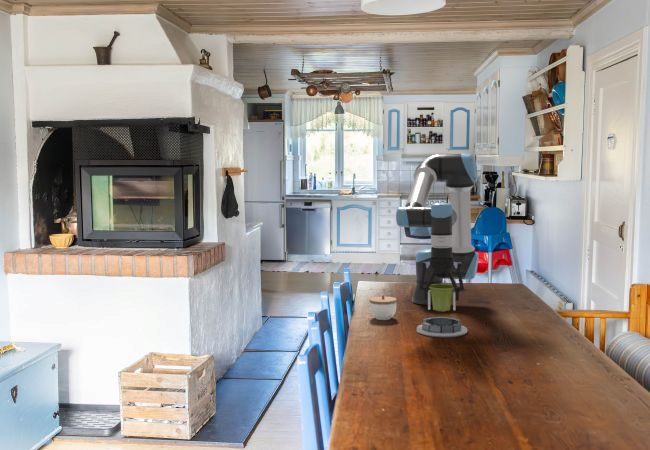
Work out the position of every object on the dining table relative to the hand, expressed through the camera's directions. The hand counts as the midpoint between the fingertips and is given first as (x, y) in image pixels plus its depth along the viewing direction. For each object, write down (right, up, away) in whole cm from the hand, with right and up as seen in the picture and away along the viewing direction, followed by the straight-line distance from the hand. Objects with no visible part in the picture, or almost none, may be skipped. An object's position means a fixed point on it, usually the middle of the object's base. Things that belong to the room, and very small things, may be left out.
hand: (441, 309), depth 242 cm
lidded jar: (-19, -7, +23) cm, 30 cm away
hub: (0, -8, +1) cm, 8 cm away
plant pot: (0, -1, 0) cm, 1 cm away
